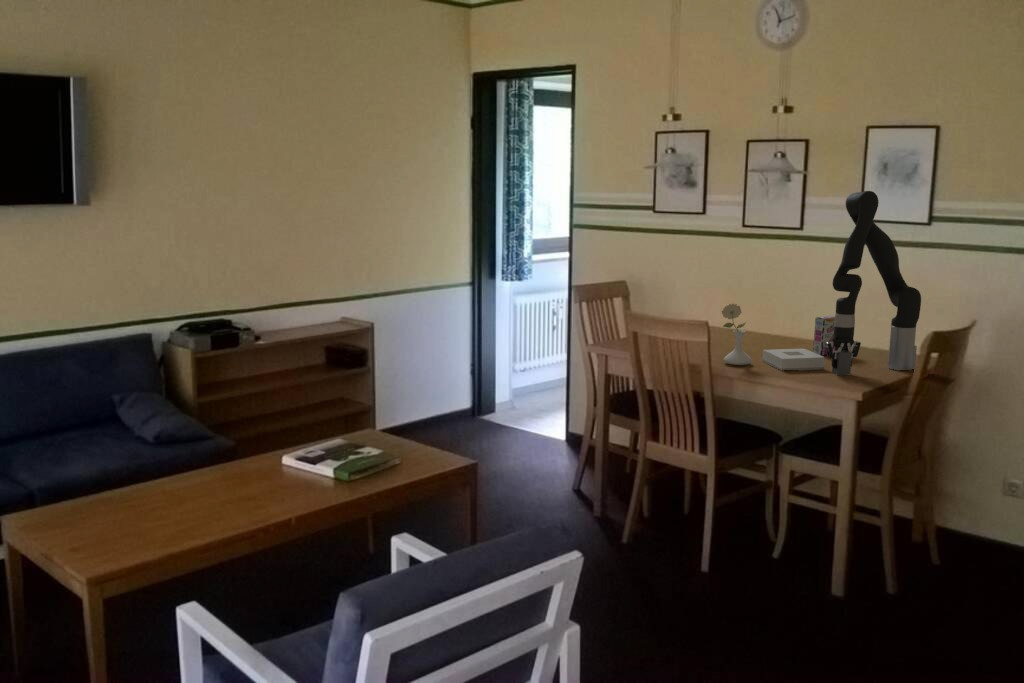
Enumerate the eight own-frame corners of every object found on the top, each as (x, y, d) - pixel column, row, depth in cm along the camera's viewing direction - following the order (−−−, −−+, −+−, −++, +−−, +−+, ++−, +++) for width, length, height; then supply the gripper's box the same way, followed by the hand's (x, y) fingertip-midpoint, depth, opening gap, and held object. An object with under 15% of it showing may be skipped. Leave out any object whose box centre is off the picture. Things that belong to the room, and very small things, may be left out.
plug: (843, 372, 369) (845, 349, 367) (850, 375, 364) (851, 352, 362) (831, 372, 368) (833, 350, 366) (838, 375, 363) (839, 352, 362)
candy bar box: (821, 356, 398) (824, 318, 395) (812, 354, 402) (814, 317, 399) (839, 353, 404) (841, 316, 401) (829, 351, 408) (832, 314, 405)
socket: (803, 360, 391) (804, 348, 390) (824, 369, 373) (824, 357, 372) (762, 361, 388) (763, 349, 387) (781, 371, 371) (782, 358, 370)
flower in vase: (753, 362, 386) (756, 302, 382) (750, 368, 376) (753, 306, 371) (721, 360, 391) (723, 301, 386) (717, 365, 380) (720, 304, 375)
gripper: (856, 322, 367) (853, 365, 370) (822, 323, 365) (819, 366, 368) (866, 326, 360) (863, 369, 363) (831, 327, 358) (828, 370, 361)
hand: (841, 367), depth 366 cm, fingers closed on plug, 5 cm apart
